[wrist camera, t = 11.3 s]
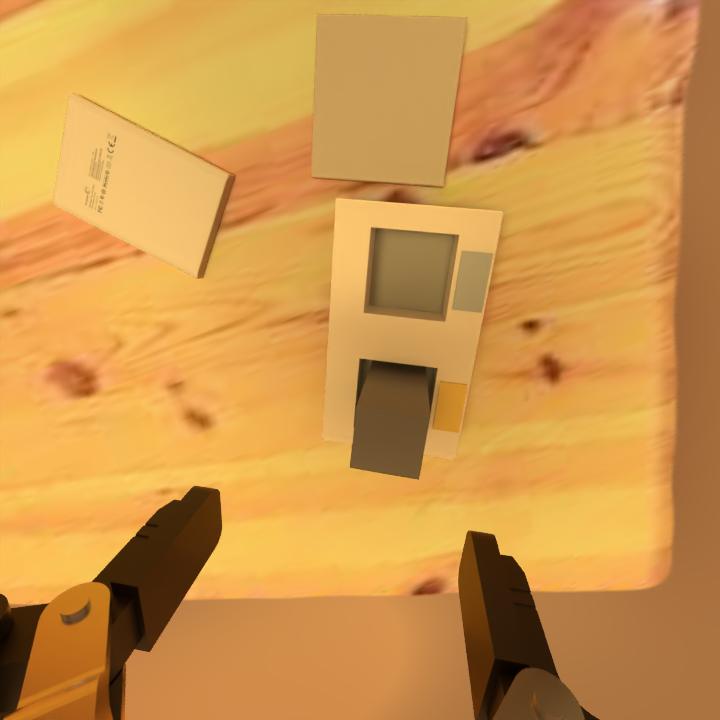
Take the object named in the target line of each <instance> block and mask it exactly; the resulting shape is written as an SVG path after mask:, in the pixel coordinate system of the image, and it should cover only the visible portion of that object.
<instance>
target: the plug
mask: <svg viewBox="0 0 720 720" xmlns="http://www.w3.org/2000/svg"><path fill="white" fill-rule="evenodd" d="M429 421H430V408H429V397H428V385H427V374H426V366H417V365H409V364H401V363H393V362H385V361H377V360H372V363H371V366H370V369H369V372H368V374H367V377H366V380H365V383H364V386H363V389H362V392H361V394H360V397H359V400H358V403H357V407H356V416H355V425H354V434H353V443H352V452H351V461H350V468H355V469H361V470H366V471H372V472H378V473H384V474H389V475H395V476H401V477H407V478H412V479H418V480H419V476H420V470H421V465H422V459H423V454H424V448H425V443H426V438H427V432H428V427H429Z"/></svg>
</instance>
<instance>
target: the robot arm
mask: <svg viewBox="0 0 720 720" xmlns="http://www.w3.org/2000/svg"><path fill="white" fill-rule="evenodd" d="M221 531H222V517H221V502H220V492H219V490H218V489H213V488H206V487H200V486H194V487H192V488H191V489H190V490H189V492H188V493H187V494H186V495H185V496H184V497H183V498H182V500H181V501H179V500H173V501H172V502H170V503H168V504H167V505H165V506H164V507H162V508H160V509H159V510H158V511H157V512H156V513H155V514H154V515H153V516H152V517H151V518H150V519H149V520H148V521H147V523H146V525H145V526H143V527H142V528H141V529H140V530H139V531H138V532H137V533H136V536H135V537H133V538H132V539H131V540H130V541H129V542H128V543H127V544H126V545H125V546H124V548H123V549H122V550H121V551H120V552H119V553H118V554H117V555H116V556H115V557H114V558H113V559H112V561H111V562H110V563H109V564H108V565H107V566H106V567H105V568H104V569H103V570H102V571H101V573H100V574H99V575H98V576H97V577H96V578H95V579H94V580H93V581H92V582H89V583H83V584H80V585H77V586H74V587H72V588H70V589H68V590H66V591H65V592H63V593H61V594H60V595H59V596H57V597H56V598H55V599H54V600H52V601H51V602H50V603H48V604H41V605H33V606H25V607H18V608H10V606H9V603H8V600H7V598H6V597H5V596H4V595H2V594H0V720H125V686H126V664H125V662H126V661H127V659H128V658H129V656H130V655H131V653H132V652H133V650H134V649H137V650H142V651H147V652H150V651H151V649H152V648H153V645H154V644H155V643H156V641H157V640H158V638H159V636H160V634H161V633H162V632H163V630H164V628H165V627H166V625H167V624H168V622H169V621H170V619H171V617H172V616H173V614H174V613H175V611H176V609H177V608H178V606H179V605H180V603H181V601H182V600H183V598H184V597H185V595H186V594H187V592H188V590H189V589H190V587H191V586H192V584H193V582H194V581H195V579H196V578H197V576H198V574H199V573H200V571H201V570H202V568H203V567H204V565H205V563H206V562H207V560H208V559H209V557H210V555H211V554H212V552H213V551H214V549H215V547H216V546H217V544H218V541H219V539H220V536H221ZM458 586H459V595H460V604H461V612H462V620H463V628H464V636H465V644H466V653H467V660H468V668H469V677H470V684H471V693H472V700H473V709H474V717H475V720H599V719H598V718H596V717H594V716H593V715H591V714H590V713H589V712H587V711H586V710H585V709H584V708H583V707H581V706H580V705H579V703H578V701H577V699H576V698H575V696H574V695H573V693H572V692H571V691H570V689H568V687H567V686H566V685H565V684H564V683H563V682H562V681H561V680H560V678H559V676H558V673H557V671H556V668H555V665H554V662H553V659H552V656H551V653H550V650H549V647H548V644H547V640H546V638H545V634H544V631H543V628H542V625H541V622H540V619H539V616H538V613H537V610H536V609H535V603H534V600H533V597H532V595H531V593H530V592H531V591H530V588H529V585H528V582H527V579H526V576H525V573H524V572H523V570H522V569H521V567H520V566H519V565H518V563H517V562H516V561H515V559H514V558H513V557H512V556H506V555H500V552H499V548H498V545H497V541H496V538H495V536H494V535H493V534H488V533H482V532H476V531H470V530H469V531H468V532H467V535H466V540H465V544H464V549H463V553H462V558H461V562H460V567H459V577H458Z"/></svg>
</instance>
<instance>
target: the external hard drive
mask: <svg viewBox="0 0 720 720" xmlns="http://www.w3.org/2000/svg"><path fill="white" fill-rule="evenodd" d="M234 178H235V176H234V175H232V174H230V173H228V172H226V171H224V170H223V169H221V168H219V167H217V166H215V165H213V164H211V163H209V162H207V161H205V160H203V159H201V158H199V157H197V156H195V155H193V154H191V153H190V152H188V151H186V150H184V149H182V148H180V147H178V146H176V145H174V144H172V143H170V142H168V141H166V140H164V139H162V138H161V137H159V136H157V135H155V134H153V133H151V132H149V131H147V130H145V129H143V128H141V127H139V126H137V125H135V124H134V123H132V122H130V121H128V120H126V119H124V118H122V117H120V116H118V115H116V114H114V113H112V112H110V111H108V110H106V109H105V108H103V107H101V106H99V105H97V104H95V103H93V102H91V101H89V100H87V99H85V98H83V97H81V96H79V95H76V94H74V93H71V95H70V97H69V99H68V106H67V112H66V119H65V126H64V133H63V140H62V147H61V153H60V159H59V165H58V172H57V179H56V185H55V191H54V205H55V206H57V207H58V208H61V209H62V210H64V211H66V212H68V213H70V214H72V215H74V216H76V217H78V218H80V219H82V220H84V221H86V222H87V223H89V224H91V225H93V226H95V227H97V228H99V229H101V230H103V231H105V232H107V233H109V234H111V235H113V236H115V237H116V238H118V239H120V240H122V241H124V242H126V243H128V244H130V245H132V246H134V247H136V248H138V249H140V250H142V251H144V252H146V253H148V254H149V255H151V256H153V257H155V258H157V259H159V260H161V261H163V262H165V263H167V264H169V265H171V266H173V267H175V268H177V269H179V270H181V271H183V272H185V273H187V274H189V275H191V276H193V277H195V278H196V279H199V278H203V275H204V272H205V269H206V266H207V263H208V259H209V256H210V253H211V250H212V247H213V244H214V240H215V237H216V234H217V231H218V228H219V225H220V222H221V218H222V215H223V212H224V209H225V206H226V203H227V200H228V196H229V193H230V190H231V187H232V184H233V181H234Z"/></svg>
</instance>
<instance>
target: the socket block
mask: <svg viewBox="0 0 720 720" xmlns="http://www.w3.org/2000/svg"><path fill="white" fill-rule="evenodd" d="M503 213H504V211H496V210H483V209H470V208H457V207H444V206H432V205H419V204H406V203H393V202H380V201H367V200H354V199H342V198H336V208H335V226H334V243H333V261H332V278H331V296H330V313H329V331H328V348H327V366H326V383H325V401H324V418H323V436H322V440H325V441H332V442H338V443H345V444H352V443H353V434H354V425H355V416H356V407H357V403H358V400H359V397H360V394H361V392H362V389H363V386H364V383H365V380H366V377H367V374H368V372H369V369H370V366H371V363H372V360H377V361H385V362H393V363H401V364H409V365H417V366H426V374H427V385H428V397H429V408H430V421H429V427H428V432H427V438H426V443H425V448H424V454H423V455H425V456H432V457H438V458H445V459H452V460H455V459H456V454H457V449H458V444H459V439H460V434H461V428H462V423H463V418H464V413H465V408H466V403H467V398H468V392H469V387H470V382H471V377H472V372H473V367H474V362H475V357H476V351H477V346H478V341H479V336H480V331H481V326H482V321H483V315H484V310H485V305H486V300H487V295H488V290H489V285H490V279H491V274H492V269H493V264H494V259H495V254H496V249H497V244H498V238H499V233H500V228H501V223H502V218H503Z"/></svg>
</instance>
